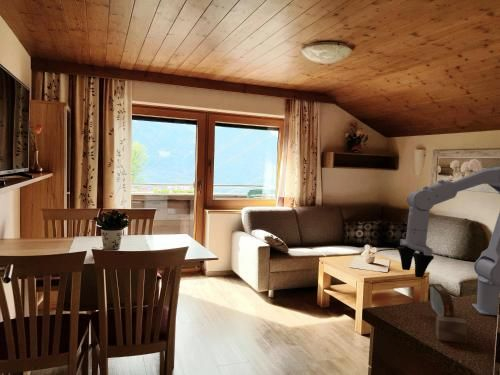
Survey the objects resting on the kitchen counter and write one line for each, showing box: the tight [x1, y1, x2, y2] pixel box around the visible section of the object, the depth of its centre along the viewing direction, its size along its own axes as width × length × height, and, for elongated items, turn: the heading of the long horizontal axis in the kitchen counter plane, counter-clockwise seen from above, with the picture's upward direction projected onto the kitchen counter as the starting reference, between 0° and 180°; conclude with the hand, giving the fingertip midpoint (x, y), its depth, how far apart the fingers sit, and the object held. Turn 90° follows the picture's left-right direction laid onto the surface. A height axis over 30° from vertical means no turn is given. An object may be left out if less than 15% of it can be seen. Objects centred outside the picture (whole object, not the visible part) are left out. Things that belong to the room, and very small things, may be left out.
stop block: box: [435, 315, 468, 344], centre depth 94 cm, size 6×3×5 cm, turn 77°
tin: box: [429, 283, 455, 318], centre depth 110 cm, size 15×3×8 cm, turn 168°
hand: (412, 273), depth 115 cm, fingers open, 7 cm apart
